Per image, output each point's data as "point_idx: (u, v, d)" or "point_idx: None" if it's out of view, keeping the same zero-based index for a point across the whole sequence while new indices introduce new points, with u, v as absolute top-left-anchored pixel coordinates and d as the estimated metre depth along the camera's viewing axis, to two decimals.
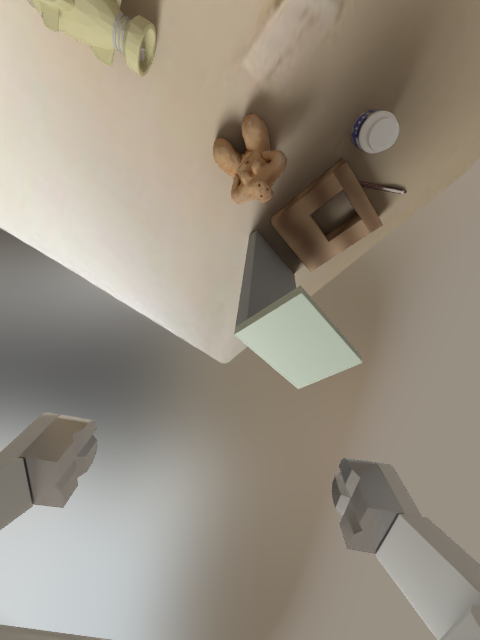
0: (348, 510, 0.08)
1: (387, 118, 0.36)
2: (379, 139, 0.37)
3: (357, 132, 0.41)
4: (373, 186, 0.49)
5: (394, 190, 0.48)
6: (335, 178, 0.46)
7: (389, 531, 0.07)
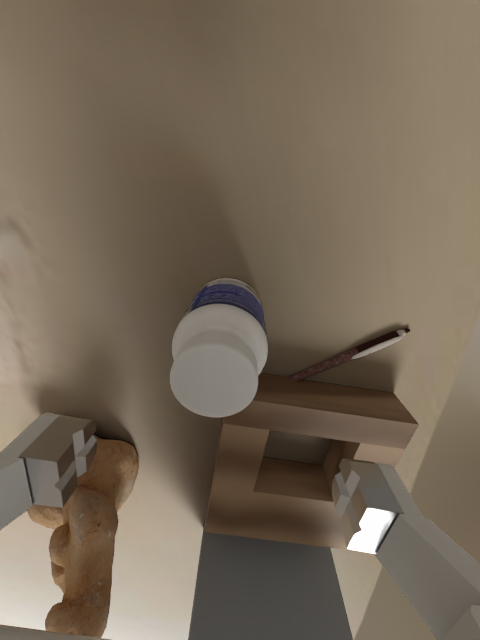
0: (348, 510, 0.08)
1: (181, 356, 0.11)
2: (213, 395, 0.12)
3: None
4: (330, 365, 0.21)
5: (380, 346, 0.20)
6: (237, 427, 0.19)
7: (389, 531, 0.07)
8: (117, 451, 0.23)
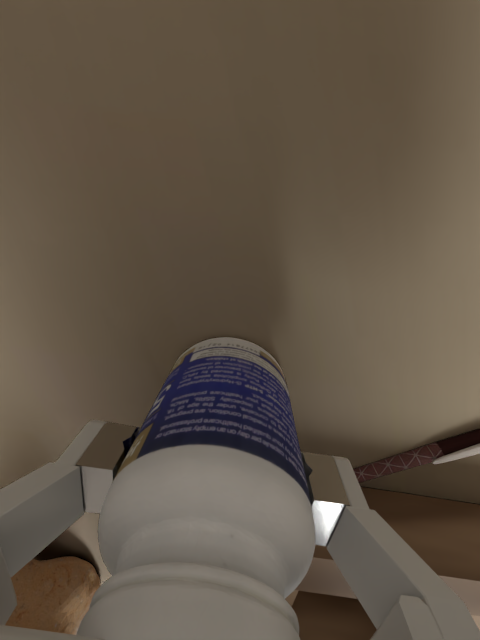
0: None
1: None
2: None
3: None
4: (394, 470, 0.13)
5: None
6: None
7: (338, 523, 0.07)
8: (61, 583, 0.15)
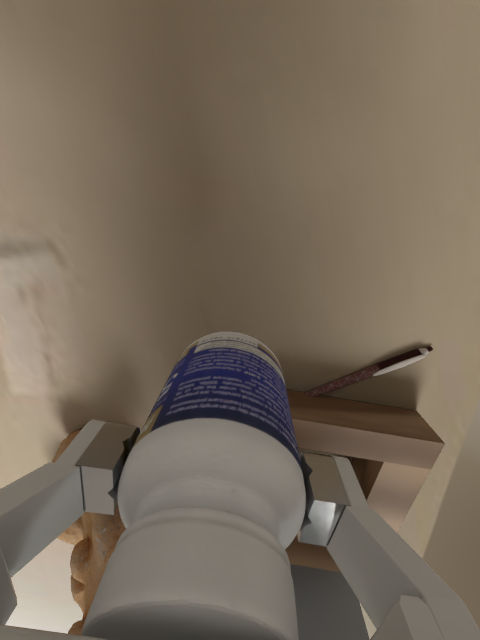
0: None
1: (104, 612, 0.04)
2: None
3: None
4: (351, 381, 0.21)
5: (402, 364, 0.20)
6: None
7: (338, 523, 0.07)
8: None
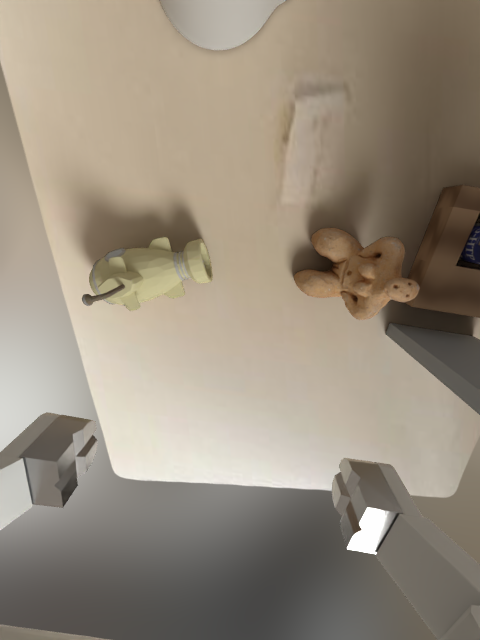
0: (348, 510, 0.08)
1: None
2: None
3: (478, 259, 0.34)
4: None
5: None
6: (461, 209, 0.33)
7: (389, 531, 0.07)
8: None
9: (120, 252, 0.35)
